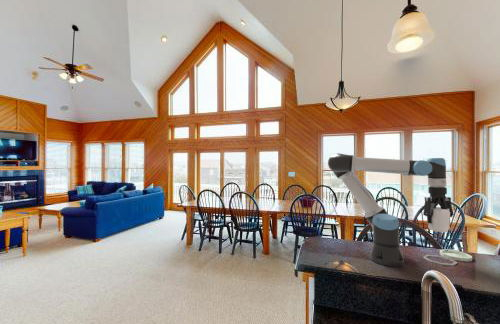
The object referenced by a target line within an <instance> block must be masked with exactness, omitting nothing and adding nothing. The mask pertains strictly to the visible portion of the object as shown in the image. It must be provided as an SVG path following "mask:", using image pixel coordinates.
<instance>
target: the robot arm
mask: <svg viewBox="0 0 500 324" xmlns="http://www.w3.org/2000/svg"><path fill="white" fill-rule="evenodd" d="M327 166H328V168H329V169H330V170H331V171H332V172H333V174H334V175H335V176H336V178H337V179H339V180H341V181H342V182H343V184H344V185H345V186H346V188H347V189H348V190H349V192H350V194H352V196H353V198H354V200H355V201H356V202H357V203H358V205H359V206H360V207H361V209H362V210H363V212H364V213H365V215H364V217H365V219H366V221H367V222H368V223H369V225H370V226H371V228H372V236H373V237H372V239H373V240H372V243H373V244H372V247H371V249H370V252H369V258H370V260H371V261H373V262H374V263H376V264H380V265H381V266H382V265H383V266H388V267H402V266H403V267H404V265H405V258H404V256H403V254H402V251H401V249H400V228H399V227H400V222H399V218H398V217H397V216H395V215H392V214H389V213H388V212H387V210H386V208H384V207H383V206H379V204H378V203H377V201H376V200H375V199H374V197H373V196H372V195H371V193H370V192H369V190H368V188H366V186H365V185H364V184H363V182H362V181H361V179H360V178H359V177H358V175H357V174H356V173H355V171H359V172H370V173H371V172H372V173H384V174H396V175H403V176H410V177H411V176H415V177H417V176H419V177H420V176H421V177H425V176H427V186H428V190H427V191H428V194H429V196H425V197H424V206H423V213H422V214H423V216H425V217H426V220H427V221H426V222H427V225H428V226H427V228H428V230H431V231H433V230H434V217H432V216H433V209H435V208H436V207H438V205H439V207H441V209H447V208H448V209H449V211H450V219H449V226H448V231H449V230H451V227H450V226H451V225H450V223H451V218H453V216H454V215H455V214H454V209H453V206H452V197H449V196H447V193H448V189H447V164H446V160H445V158H443V157H432V158H431V157H430V158H427V159H426V160H423V159H422V160H412V159H410V160H409V159H396V158H395V159H394V158H378V157H377V158H375V157H358V156H357V157H356V156H355V155H354V154H353V155H352V154H345V153H340V152H339V153H333V154H332V155H330V157H329V158H328V160H327Z"/></svg>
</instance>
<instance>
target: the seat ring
mask: <svg viewBox="0 0 500 324" xmlns="http://www.w3.org/2000/svg"><path fill="white" fill-rule="evenodd" d="M428 257H431V258H440V259H444V260H447V261H450V262H452V263H446V262H444V263H443V262H439V261H435V260H432V259H430V258H428ZM423 259H425V260H426V261H428V262H431V263H434V264H437V265H441V266H450V267H451V266H456V265H458V262H457V260H453V259H450V258H446V257H443V256H441V255H436V254H426V255H424V256H423Z"/></svg>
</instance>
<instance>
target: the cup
mask: <svg viewBox="0 0 500 324" xmlns="http://www.w3.org/2000/svg"><path fill="white" fill-rule="evenodd" d="M432 217H434V230H432V231H433V232H437V233H448V232H449V230H448V226H449V219H450V220H451V217H450V211H449V209H448V208H447V209H441V207H440V206H436V208H435V209H433V216H432Z"/></svg>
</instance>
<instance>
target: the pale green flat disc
mask: <svg viewBox="0 0 500 324" xmlns="http://www.w3.org/2000/svg"><path fill="white" fill-rule="evenodd" d="M445 250H446V249H439V256H442V257H446V258H450V259H452V260H454V261H459V262H472V261H473V256H472V255H470V254H469V253H466V252H462V251H458V250H453V249H447V250H448V251H445Z"/></svg>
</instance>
